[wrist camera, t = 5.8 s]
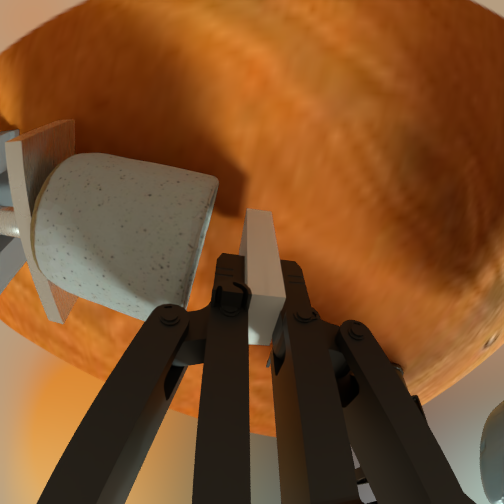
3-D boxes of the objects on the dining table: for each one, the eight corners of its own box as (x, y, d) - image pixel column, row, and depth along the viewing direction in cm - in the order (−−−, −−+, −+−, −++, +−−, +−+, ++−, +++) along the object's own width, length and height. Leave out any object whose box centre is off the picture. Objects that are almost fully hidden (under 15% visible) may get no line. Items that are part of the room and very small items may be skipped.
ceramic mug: (90, 133, 13) (3, 186, 7) (226, 157, 15) (209, 229, 9) (91, 272, 19) (49, 352, 13) (193, 297, 21) (177, 390, 14)
